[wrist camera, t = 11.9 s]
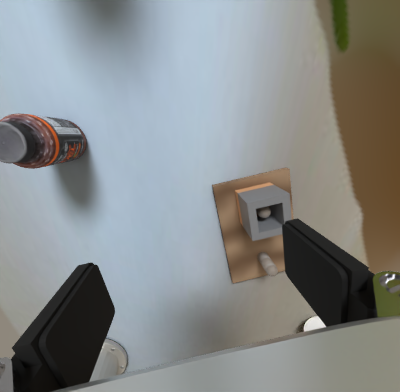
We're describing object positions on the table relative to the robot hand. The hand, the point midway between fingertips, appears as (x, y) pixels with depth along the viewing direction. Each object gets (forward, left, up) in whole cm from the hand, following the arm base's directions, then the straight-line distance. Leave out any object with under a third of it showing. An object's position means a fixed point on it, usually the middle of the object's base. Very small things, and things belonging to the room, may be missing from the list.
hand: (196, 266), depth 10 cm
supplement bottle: (+9, +16, -25) cm, 31 cm away
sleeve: (-7, -10, -23) cm, 26 cm away
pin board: (-13, -10, -24) cm, 29 cm away
